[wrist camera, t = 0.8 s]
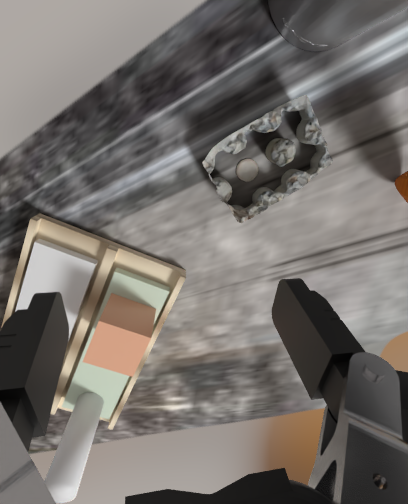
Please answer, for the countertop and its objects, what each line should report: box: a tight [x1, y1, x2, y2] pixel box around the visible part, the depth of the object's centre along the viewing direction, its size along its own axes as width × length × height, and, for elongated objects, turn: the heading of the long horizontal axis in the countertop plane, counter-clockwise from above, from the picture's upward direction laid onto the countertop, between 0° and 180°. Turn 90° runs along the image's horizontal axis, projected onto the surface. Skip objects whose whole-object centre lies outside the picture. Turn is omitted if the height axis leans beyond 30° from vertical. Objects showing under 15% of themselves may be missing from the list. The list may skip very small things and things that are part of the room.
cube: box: [83, 293, 156, 377], centre depth 31 cm, size 5×5×5 cm
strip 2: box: [44, 268, 170, 503], centre depth 30 cm, size 20×6×11 cm, turn 155°
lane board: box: [1, 213, 186, 430], centre depth 35 cm, size 24×16×2 cm, turn 155°
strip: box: [15, 239, 98, 341], centre depth 29 cm, size 20×6×11 cm, turn 155°
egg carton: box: [202, 95, 333, 223], centre depth 28 cm, size 11×8×4 cm
